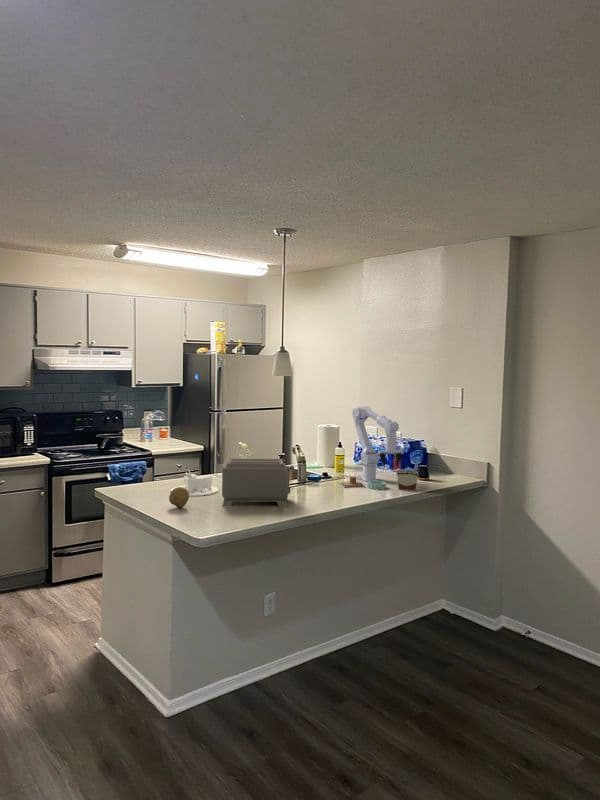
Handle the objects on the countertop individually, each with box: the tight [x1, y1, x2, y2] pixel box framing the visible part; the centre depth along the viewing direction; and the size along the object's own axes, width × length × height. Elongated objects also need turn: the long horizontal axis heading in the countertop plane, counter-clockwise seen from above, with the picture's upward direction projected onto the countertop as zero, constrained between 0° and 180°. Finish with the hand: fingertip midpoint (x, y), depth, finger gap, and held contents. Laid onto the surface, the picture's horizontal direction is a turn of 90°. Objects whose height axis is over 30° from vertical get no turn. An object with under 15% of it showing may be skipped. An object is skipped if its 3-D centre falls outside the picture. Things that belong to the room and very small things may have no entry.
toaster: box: [221, 458, 295, 507], centre depth 307 cm, size 19×35×20 cm, turn 94°
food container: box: [396, 469, 420, 491], centre depth 346 cm, size 12×6×10 cm, turn 84°
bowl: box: [367, 480, 387, 490], centre depth 347 cm, size 10×10×3 cm
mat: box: [339, 482, 367, 488], centre depth 352 cm, size 12×12×1 cm
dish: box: [170, 469, 219, 497], centre depth 329 cm, size 25×25×11 cm
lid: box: [342, 476, 364, 487], centre depth 352 cm, size 11×11×4 cm
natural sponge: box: [168, 486, 190, 509], centre depth 292 cm, size 9×9×10 cm
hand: (390, 466), depth 356 cm, fingers open, 7 cm apart
